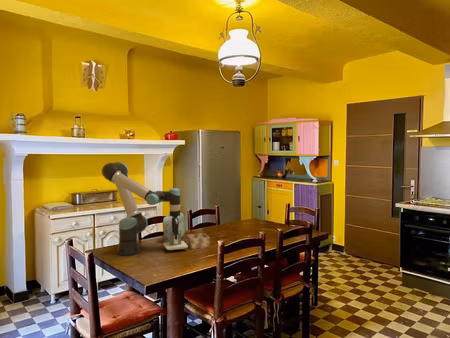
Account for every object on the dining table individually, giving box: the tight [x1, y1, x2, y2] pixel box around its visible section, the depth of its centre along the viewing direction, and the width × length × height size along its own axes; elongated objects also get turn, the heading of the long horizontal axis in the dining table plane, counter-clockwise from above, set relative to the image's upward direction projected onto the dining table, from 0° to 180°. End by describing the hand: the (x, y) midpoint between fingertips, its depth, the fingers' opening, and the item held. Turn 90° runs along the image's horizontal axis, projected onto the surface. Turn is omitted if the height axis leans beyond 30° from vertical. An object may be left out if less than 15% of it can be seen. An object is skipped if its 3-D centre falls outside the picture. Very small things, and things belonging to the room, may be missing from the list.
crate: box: [186, 233, 211, 250], centre depth 260 cm, size 14×14×7 cm
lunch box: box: [162, 212, 186, 243], centre depth 277 cm, size 27×10×21 cm, turn 168°
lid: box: [162, 232, 189, 251], centre depth 249 cm, size 15×15×10 cm
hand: (175, 242), depth 249 cm, fingers closed on lid, 3 cm apart
